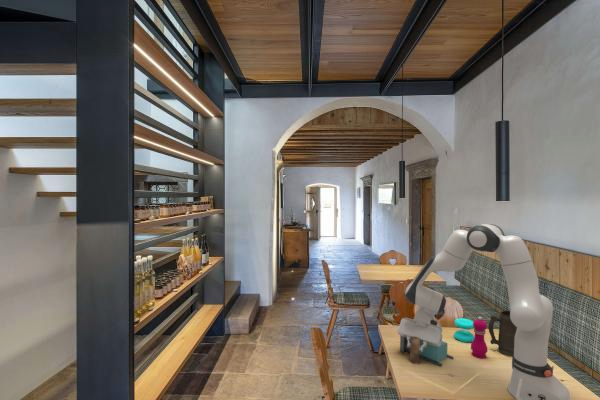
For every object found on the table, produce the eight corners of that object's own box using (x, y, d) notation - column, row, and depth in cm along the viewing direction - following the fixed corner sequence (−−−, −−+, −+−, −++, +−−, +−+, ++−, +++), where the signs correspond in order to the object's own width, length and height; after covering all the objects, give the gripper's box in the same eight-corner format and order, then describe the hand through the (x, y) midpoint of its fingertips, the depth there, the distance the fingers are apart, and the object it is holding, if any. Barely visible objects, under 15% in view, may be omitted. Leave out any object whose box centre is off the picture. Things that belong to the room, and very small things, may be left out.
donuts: (451, 317, 196) (469, 317, 195) (451, 334, 196) (469, 335, 196) (459, 324, 186) (478, 324, 185) (458, 342, 186) (477, 343, 186)
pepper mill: (489, 361, 166) (490, 320, 165) (472, 360, 168) (474, 318, 167) (484, 354, 173) (486, 314, 172) (468, 353, 175) (470, 313, 174)
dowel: (420, 364, 163) (421, 338, 163) (416, 366, 161) (416, 341, 160) (413, 360, 166) (414, 335, 166) (408, 363, 164) (409, 338, 163)
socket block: (446, 357, 168) (447, 343, 167) (437, 363, 162) (437, 348, 162) (429, 350, 174) (429, 336, 174) (419, 356, 169) (419, 341, 168)
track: (455, 359, 168) (456, 340, 168) (438, 370, 158) (439, 350, 157) (417, 344, 183) (418, 327, 183) (399, 353, 173) (400, 335, 173)
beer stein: (517, 348, 181) (516, 309, 180) (529, 358, 170) (527, 317, 169) (486, 348, 182) (484, 310, 182) (495, 358, 172) (494, 317, 171)
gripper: (400, 313, 175) (391, 339, 167) (443, 324, 161) (435, 352, 154) (404, 319, 178) (395, 345, 171) (446, 330, 165) (438, 359, 158)
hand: (414, 349), depth 163 cm, fingers closed on dowel, 4 cm apart
